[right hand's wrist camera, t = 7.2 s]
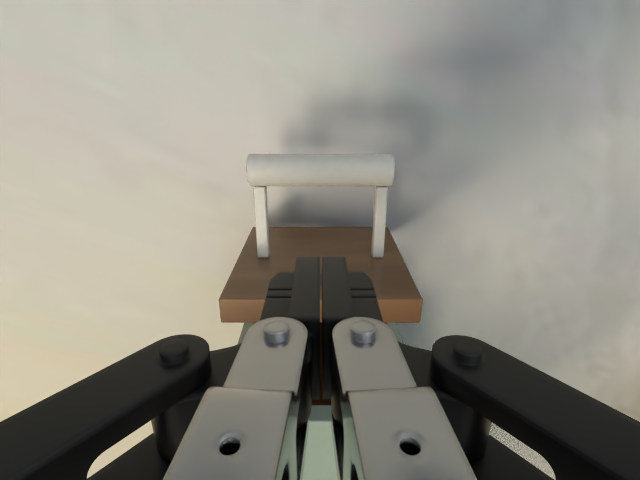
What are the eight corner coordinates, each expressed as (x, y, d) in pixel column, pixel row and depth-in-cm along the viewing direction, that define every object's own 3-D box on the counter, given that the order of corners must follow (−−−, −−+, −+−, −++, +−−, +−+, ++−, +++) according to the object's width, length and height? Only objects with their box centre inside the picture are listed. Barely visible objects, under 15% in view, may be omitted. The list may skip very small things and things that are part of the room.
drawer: (246, 141, 24) (204, 174, 15) (393, 141, 24) (437, 174, 15) (262, 371, 30) (239, 488, 21) (377, 371, 30) (401, 488, 21)
